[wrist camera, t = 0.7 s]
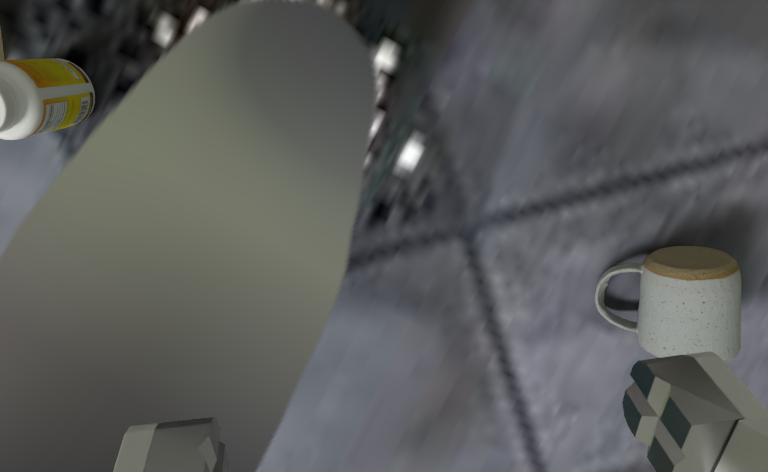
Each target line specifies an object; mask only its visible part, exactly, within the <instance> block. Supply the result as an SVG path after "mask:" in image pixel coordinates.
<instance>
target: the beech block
mask: <svg viewBox="0 0 768 472" xmlns="http://www.w3.org/2000/svg"><path fill="white" fill-rule="evenodd" d="M2 60H5V59H4V51H3V43H2V35H1V27H0V61H2Z"/></svg>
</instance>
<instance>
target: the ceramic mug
mask: <svg viewBox="0 0 768 472" xmlns="http://www.w3.org/2000/svg"><path fill="white" fill-rule="evenodd" d="M623 272H640V273H641V278H640V290H639V292H640V300H639V308H638V322H633V321H628V320H625V319H623V318H620V317H618V316H616V315H614V314H613V313H611V312H610V311H609V310H608V309H607V308H606V307H605V303H604V295H605V289H606V287H607V286H608V284H609V279H610V277H611V276H613V275H616V274H618V273H623ZM595 304H596V307H597V309H598V311H599V312H600V314H601V315H602V316H603V317H604V318H605V319H606V320H607V321H609V322H610V323H612V324H614V325H616V326H618V327H620V328H623V329H626V330H629V331H632V332H636V333H637V339H638V341H639V344H640V345H641V346H642V347H643V348H644V349H645V350H646V351H648V352H649V353H651V354H653V355H655V356H657V357H660V358H662V357H669V356H676V355H686V354H694V353H701V352H709V351H711V352H713V353H715V354H717V355H718V356H719V357H720V358H721V359H722V360H723V361H724V362H726V361H729V360H731V359H733V358H734V357H736V356H737V355H738V353H739V350H740V330H741V275H740V270H739V265H738V263H737V261H736V260H735V259H734V258H733V257H732V256H730V255H729V254H727V253H725V252H723V251H720V250H717V249H713V248H708V247H701V246H673V247H666V248H661V249H658V250H656V251H654V252H652V253H651V254H649V255H648V256H647V257H646V258H645V260H644V263H642V264H638V263H625V264H620V265H616V266H613V267H611V268H609V269H608V270H606V271H605V272H604V273H603V274H602V276H601V278H600V279H599V281H598V283H597V287H596V291H595Z"/></svg>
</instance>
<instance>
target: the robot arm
mask: <svg viewBox="0 0 768 472" xmlns="http://www.w3.org/2000/svg"><path fill="white" fill-rule="evenodd" d="M630 376H631V377H632V379H633V380H634V383H633V384H632V385H631V386H629V387H628V388H627V389H626V390H625V394H624V398H623V402H622V403H623V411H624V417H625V419H626V422H627V424H628V427H629V429H630V430H631V432H632V434H633V435H634V437H635V438H636V439H638V440H639V441H641V442H643V443H644V444H646V445H647V446H648V452H647V458H648V460H649V461H650V463H651V465H652V466H653V468H654V469H655V471H656V472H768V410H767V409H766V408H765V407H764V405H763V404H762V403H761V402H760V401H759V400H758V399H757V398H756V397H755V396H754V394H753V393H752V392H751V391H750V390H749V389H748V388H747V387H746V386H745V384H744V383H743V382H742V381H741V380H740V379H739V378H738V377H737V376H736V374H735V373H734V372H733V371H732V370H731V369H730V368H729V367H728V366H727V364H726V363H725V362H724V361H723V360H722V359H721V358H720V357H719V356H718V355H717V354H715V353H713V352H711V351H709V352H701V353H694V354H686V355H676V356H669V357H662V358H655V359H648V360H641V361H637V362H636V363H635V364H634V365H633V367H632V370H631V373H630ZM220 430H221V429H220V426H219V423H218V420H217V418H216V417H212V418H201V419H192V420H182V421H173V422H163V423H156V424H148V425H139V426H131V427H130V428H129V429H128V431H127V432H126V433H125V435H124V438H123V441H122V445H121V448H120V451H119V454H118V458H117V461H116V464H115V468H114V471H113V472H229V460H228V453H227V450H226V446H225V444H223V443H221V442H220V441H219V437H220Z"/></svg>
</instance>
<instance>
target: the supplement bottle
mask: <svg viewBox="0 0 768 472" xmlns="http://www.w3.org/2000/svg"><path fill="white" fill-rule="evenodd" d="M94 104H95V92H94V88H93V85H92V83H91V81H90V79H89V77H88V76H87V75H86V73H85V72H84V71H83V70H82V69H81V68H80V67H78V66H77V65H76V64H74V63H72V62H70V61H68V60H64V59H59V58H45V59H22V60H2V61H0V139H5V140H17V139H22V138H27V137H30V136H34V135H38V134H42V133H46V132H50V131H54V130H58V129H62V128H66V127H70V126H74V125H77V124H79V123H81V122H83V121H84V120H86V119H87V118H88V117H89V116H90V114H91V112H92V110H93V108H94Z"/></svg>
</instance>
